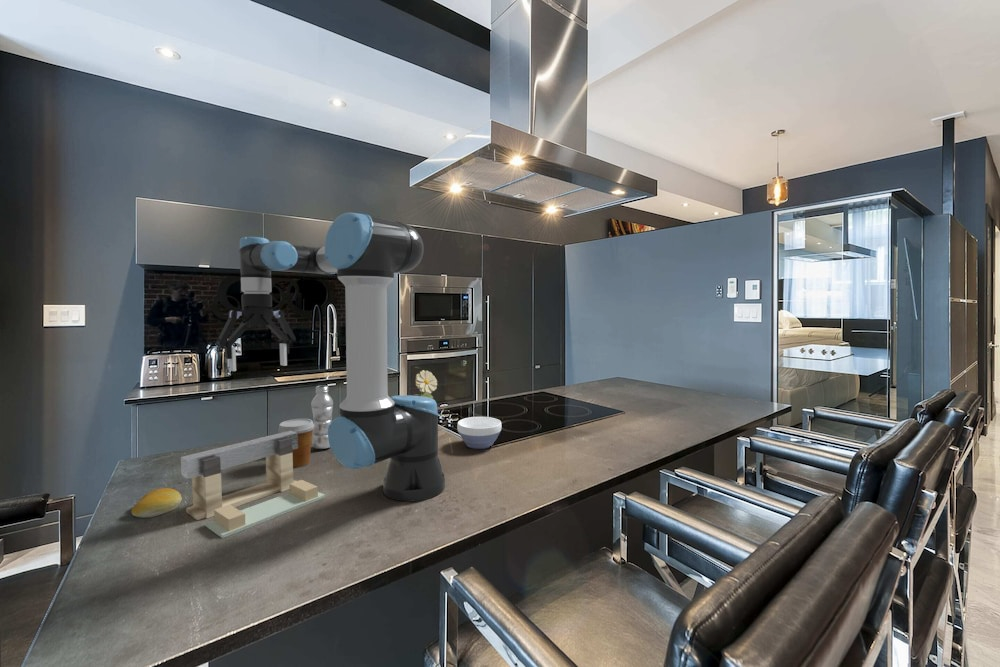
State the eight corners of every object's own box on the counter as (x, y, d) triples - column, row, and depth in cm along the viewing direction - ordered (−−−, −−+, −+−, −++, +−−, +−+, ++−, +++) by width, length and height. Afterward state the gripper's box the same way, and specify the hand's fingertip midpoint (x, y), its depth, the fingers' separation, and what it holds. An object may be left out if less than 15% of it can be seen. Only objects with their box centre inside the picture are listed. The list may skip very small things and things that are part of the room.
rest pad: (325, 497, 101) (324, 485, 101) (222, 538, 83) (221, 523, 83) (306, 488, 106) (306, 477, 105) (205, 526, 88) (204, 511, 87)
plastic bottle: (339, 447, 137) (337, 385, 136) (320, 453, 131) (318, 389, 130) (326, 443, 141) (325, 383, 139) (307, 449, 135) (306, 387, 134)
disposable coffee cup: (301, 470, 117) (300, 428, 116) (271, 468, 119) (269, 426, 118) (322, 458, 126) (321, 419, 126) (294, 456, 128) (292, 417, 128)
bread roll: (126, 522, 90) (124, 504, 89) (144, 503, 98) (143, 487, 98) (173, 515, 92) (172, 497, 92) (187, 498, 101) (186, 481, 101)
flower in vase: (400, 456, 129) (399, 374, 127) (394, 444, 139) (392, 369, 138) (442, 450, 134) (441, 371, 133) (432, 439, 145) (432, 367, 143)
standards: (299, 485, 107) (297, 437, 107) (198, 521, 90) (196, 463, 89) (284, 478, 112) (282, 432, 111) (185, 511, 94) (182, 456, 93)
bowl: (476, 435, 150) (476, 414, 149) (510, 443, 141) (510, 420, 141) (448, 446, 138) (447, 423, 137) (483, 455, 129) (483, 431, 129)
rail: (297, 448, 109) (297, 432, 109) (187, 479, 89) (186, 460, 89) (290, 445, 111) (290, 430, 111) (181, 475, 91) (180, 457, 91)
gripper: (294, 294, 132) (296, 362, 133) (200, 292, 113) (203, 371, 114) (306, 294, 127) (308, 364, 129) (210, 291, 108) (213, 374, 109)
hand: (259, 368), depth 121 cm, fingers open, 13 cm apart
